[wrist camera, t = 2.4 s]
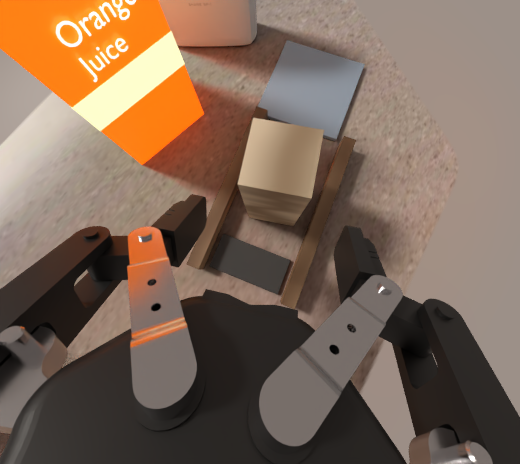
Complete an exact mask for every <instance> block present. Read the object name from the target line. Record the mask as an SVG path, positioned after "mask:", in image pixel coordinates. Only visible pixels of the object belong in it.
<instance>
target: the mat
mask: <svg viewBox="0 0 520 464" xmlns="http://www.w3.org/2000/svg"><path fill="white" fill-rule="evenodd" d="M364 65H365V64H362V63H359V62H356V61H353V60H349V59H346V58H343V57H340V56H337V55H333V54H330V53H327V52H324V51H320V50H317V49H314V48H311V47H308V46H304V45H301V44H298V43H295V42H292V41H288V40H287V42H286V44H285V46H284V48H283V51H282V53H281V55H280V57H279V60H278V62H277V64H276V66H275V69H274V71H273V73H272V75H271V78H270V80H269V82H268V84H267V87H266V89H265V91H264V93H263V96H262V98H261V100H260V102H259V105H258V107H260V108H263V109H266V110H268V119H271V120H274V121H277V122H281V123H287V124H293V125H299V126H304V127H310V128H316V129H322V130H324V133H323V137H324V138H326V139H329V140H332V141H336V139H337V136H338V133H339V131H340V128H341V125H342V123H343V120H344V117H345V115H346V112H347V110H348V107H349V104H350V102H351V99H352V96H353V94H354V91H355V88H356V86H357V83H358V80H359V78H360V75H361V72H362V70H363V67H364Z"/></svg>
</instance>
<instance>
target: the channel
mask: <svg viewBox="0 0 520 464" xmlns="http://www.w3.org/2000/svg"><path fill="white" fill-rule="evenodd" d="M253 118H258V119H264V120H268V110H266V109H263V108H260V107H256V109H255V111H254V114H253V116H252V118H251V120H250V123H249V125H248V127H247V129H246V131H245V134H244V136H243V138H242V140H241V143H240V145H239V147H238V149H237V152H236V154H235V156H234V158H233V161H232V163H231V165H230V167H229V170H228V172H227V174H226V176H225V179H224V181H223V183H222V185H221V188H220V190H219V192H218V194H217V197H216V199H215V201H214V203H213V206H212V208H211V210H210V212H209V215H208V217H207V221H206V226H205V229H204V230H203V232H202V233H201V235H200V236H199V238H198V239H197V242H196V244H195V246H194V248H193V251H192V253H191V255H190V257H189V260H188V262H187V265H189V266H192V267H194V268H197V269H204V267H205V264H206V262H207V260H208V257H209V255H210V253H211V250H212V248H213V246H214V243H215V241H216V239H217V236H218V234H219V232H220V230H221V227H222V225H223V223H224V220H225V218H226V216H227V213H228V211H229V209H230V206H231V204H232V202H233V199H234V197H235V195H236V193H237V190H238V188H239V187H238V180H239V176H240V172H241V167H242V163H243V159H244V155H245V150H246V146H247V142H248V138H249V133H250V129H251V125H252V121H253ZM355 142H356V140H354V139H351V138H348V137H345V136H344V137H343V139H342V141H341V142H340V144H339V146H338V149H337V151H336V154H335V157H334V159H333V162H332V165H331V167H330V170H329V173H328V175H327V178H326V181H325V183H324V186H323V189H322V191H321V194H320V197H319V199H318V202H317V205H316V207H315V210H314V213H313V215H312V218H311V221H310V223H309V226H308V229H307V231H306V234H305V237H304V239H303V242H302V245H301V247H300V250H299V253H298V255H297V258H296V261H295V263H294V266H293V269H292V271H291V274H290V277H289V279H288V282H287V285H286V287H285V290H284V293H283V295H282V298H281V304H283V305H285V306H288V307H290V308H292V309H295V307H296V304H297V301H298V298H299V296H300V293H301V290H302V287H303V285H304V282H305V279H306V276H307V274H308V271H309V268H310V265H311V263H312V260H313V257H314V254H315V252H316V249H317V246H318V243H319V241H320V238H321V235H322V232H323V230H324V227H325V224H326V221H327V219H328V216H329V213H330V210H331V208H332V205H333V202H334V199H335V197H336V194H337V191H338V188H339V186H340V183H341V180H342V177H343V175H344V172H345V169H346V166H347V164H348V161H349V158H350V155H351V153H352V150H353V147H354V144H355Z"/></svg>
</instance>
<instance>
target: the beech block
mask: <svg viewBox="0 0 520 464" xmlns="http://www.w3.org/2000/svg"><path fill="white" fill-rule="evenodd" d="M323 133H324V130H322V129H316V128H310V127H304V126H299V125H293V124H287V123H281V122H275V121H270V120H264V119H258V118H253V121H252V125H251V129H250V133H249V138H248V142H247V146H246V150H245V155H244V159H243V163H242V167H241V172H240V176H239V180H238V187H239V190H240V193H241V196H242V199H243V202H244V204H245V207H246V210H247V213H248V216H249V218H254V219H259V220H264V221H269V222H274V223H279V224H284V225H289V226H294V224H295V223H296V221H297V220H298V218H299V217H300V215H301V214H302V212H303V211H304V209H305V208H306V206H307V205H308V203H309V202H310V200H311V199H312V194H313V188H314V183H315V177H316V172H317V166H318V161H319V155H320V150H321V144H322V139H323Z"/></svg>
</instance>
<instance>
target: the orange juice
mask: <svg viewBox="0 0 520 464" xmlns="http://www.w3.org/2000/svg"><path fill="white" fill-rule="evenodd" d="M0 49H2V50H3V51H4V52H5V53H6V54H8V55H9V56H10V57H11V58H13V59H14V60H15V61H16V62H18V63H19V64H20V65H21V66H22V67H23V68H25V69H26V70H27V71H28V72H30V73H31V74H32V75H33V76H35V77H36V78H37V79H38V80H39V81H41V82H42V83H43V84H44V85H45V86H47V87H48V88H49V89H50V90H52V91H53V92H54V93H55V94H56V95H58V96H59V97H60V98H61V99H62V100H64V101H65V102H66V103H67V104H69V105H70V106H71V108H72V109H74V110H75V111H76V112H77V113H78V114H80V115H81V116H82V117H83V118H85V119H86V120H87V121H88V122H89V123H91V124H92V125H93V126H94V127H96V128H97V129H98V130H99V131H101V132H103V133H104V134H105V135H106V136H108V137H109V138H110V139H111V140H112V141H114V142H115V143H116V144H117V145H119V146H120V147H121V148H122V149H123V150H125V151H126V152H127V153H128V154H129V155H131V156H132V157H133V158H134V159H136V160H137V161H138V162H139V163H140V164H142V165H143V164H144V163H145V162H147V161H148V160H149V159H150V158H151V157H153V156H154V155H155V154H156V153H158V152H159V151H160V150H161V149H162V148H164V147H165V146H166V145H167V144H168V143H170V142H171V141H172V140H173V139H174V138H176V137H177V136H178V135H179V134H180V133H182V132H183V131H184V130H185V129H186V128H188V127H189V126H190V125H191V124H192V123H194V122H195V121H196V120H197V119H198V118H200V117H201V116H202V115H203V114H204V112H203V110H202V107H201V105H200V102H199V100H198V97H197V95H196V92H195V90H194V87H193V85H192V83H191V80H190V78H189V75H188V73H187V70H186V68H185V65H184V61H183V59H182V56H181V54H180V51H179V49H178V46H177V44H176V41H175V39H174V36H173V34H172V31H171V30H170V28H169V26H168V23H167V21H166V18H165V16H164V13H163V11H162V9H161V6H160V4H159V1H158V0H0Z"/></svg>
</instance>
